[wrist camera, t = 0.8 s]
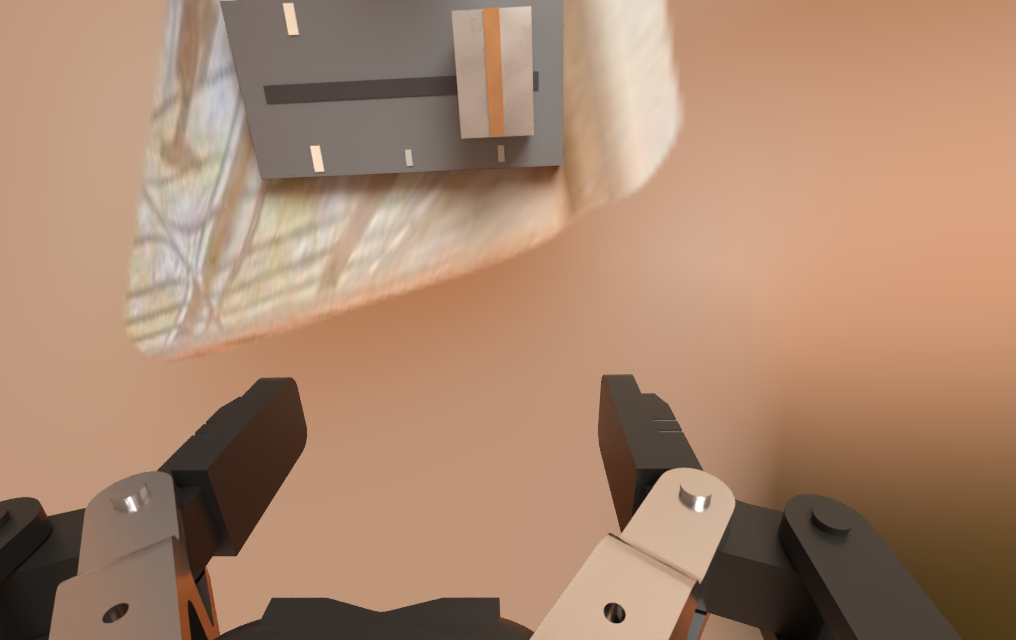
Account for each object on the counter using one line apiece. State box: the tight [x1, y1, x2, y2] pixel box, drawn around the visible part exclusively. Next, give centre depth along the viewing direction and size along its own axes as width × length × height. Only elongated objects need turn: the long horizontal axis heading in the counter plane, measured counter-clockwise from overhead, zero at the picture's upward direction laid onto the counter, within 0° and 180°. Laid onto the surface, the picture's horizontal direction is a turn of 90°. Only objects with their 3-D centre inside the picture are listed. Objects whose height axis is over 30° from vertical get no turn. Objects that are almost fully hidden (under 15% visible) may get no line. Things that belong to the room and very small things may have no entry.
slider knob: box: [452, 6, 534, 139], centre depth 27 cm, size 6×4×4 cm, turn 3°
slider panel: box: [220, 0, 563, 179], centre depth 30 cm, size 10×20×2 cm, turn 93°
